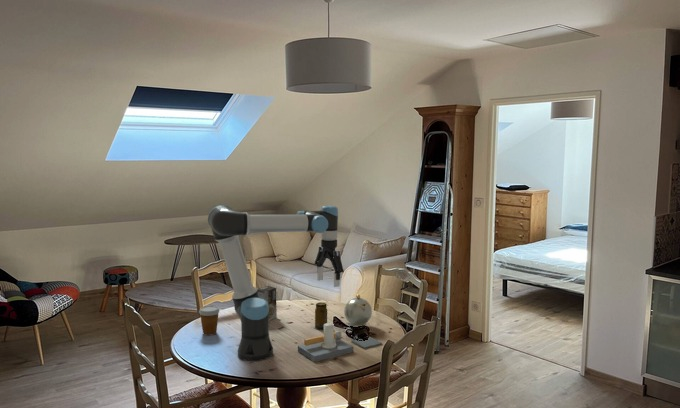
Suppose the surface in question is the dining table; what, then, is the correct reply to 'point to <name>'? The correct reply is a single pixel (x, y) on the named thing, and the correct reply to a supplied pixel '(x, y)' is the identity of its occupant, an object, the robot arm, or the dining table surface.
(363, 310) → the teapot
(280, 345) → the dining table surface
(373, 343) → the pad
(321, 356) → the socket board
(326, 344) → the white tall cylinder
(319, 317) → the condiment
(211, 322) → the disposable coffee cup
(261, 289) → the coffee box
